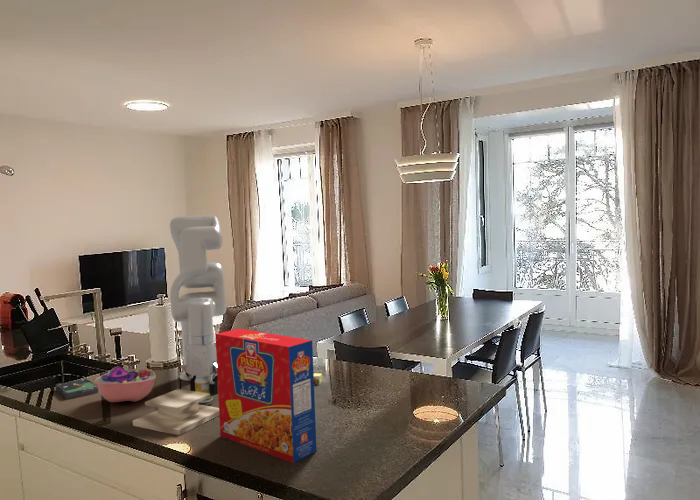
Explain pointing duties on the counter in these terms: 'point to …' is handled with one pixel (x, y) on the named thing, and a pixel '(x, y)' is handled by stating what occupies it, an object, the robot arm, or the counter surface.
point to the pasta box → (267, 392)
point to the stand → (177, 412)
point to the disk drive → (76, 388)
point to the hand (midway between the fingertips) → (204, 393)
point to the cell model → (125, 384)
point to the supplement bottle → (203, 387)
